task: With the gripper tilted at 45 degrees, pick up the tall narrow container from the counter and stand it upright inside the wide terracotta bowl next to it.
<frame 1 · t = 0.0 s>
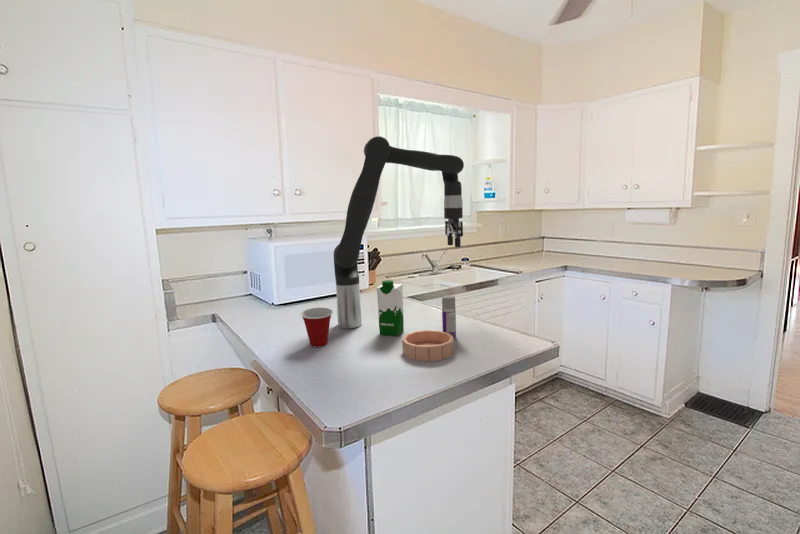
hand: (453, 246, 167), 29 cm above the worktop, tool pointing down, fingers open, 8 cm apart
container: (449, 338, 142), on the worktop
milk carton: (392, 333, 151), on the worktop
plastic cup: (319, 345, 141), on the worktop
bowl: (428, 351, 130), on the worktop
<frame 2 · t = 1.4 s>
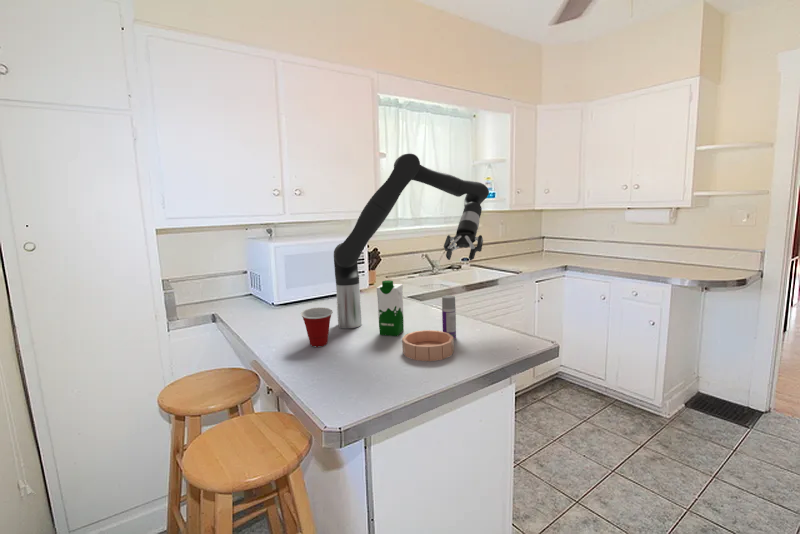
hand: (459, 258, 148), 27 cm above the worktop, tool tilted 45°, fingers open, 8 cm apart
nothing on the worktop moved.
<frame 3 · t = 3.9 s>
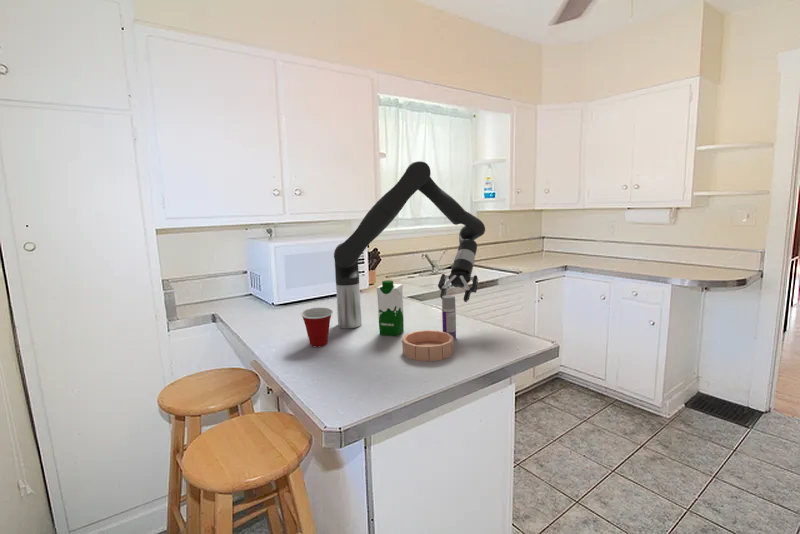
hand: (453, 300, 145), 13 cm above the worktop, tool tilted 45°, fingers open, 8 cm apart
nothing on the worktop moved.
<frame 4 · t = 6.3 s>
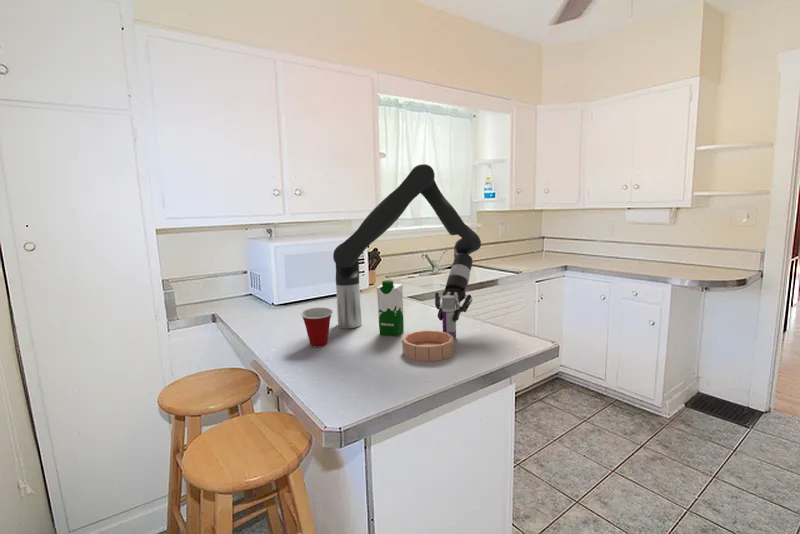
hand: (447, 319, 139), 7 cm above the worktop, tool tilted 45°, fingers closed on container, 4 cm apart
container: (449, 338, 142), on the worktop, touching gripper
everything else where it was.
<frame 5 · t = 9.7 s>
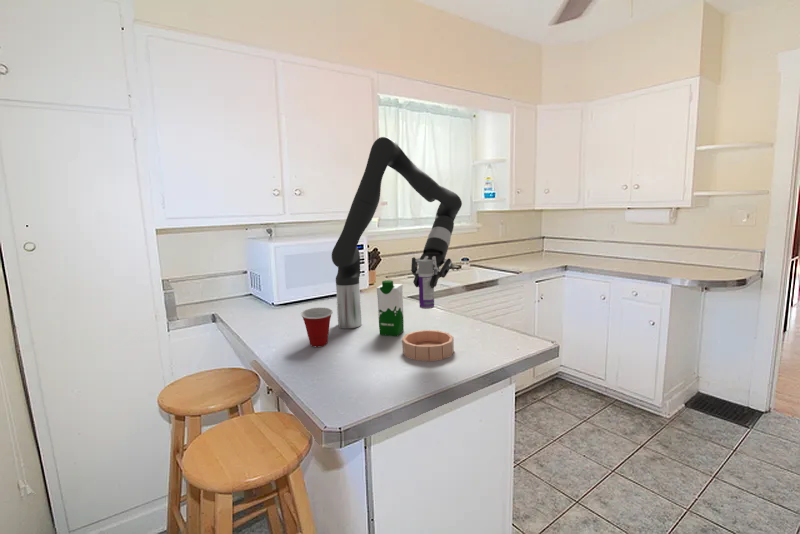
hand: (423, 286, 125), 22 cm above the worktop, tool tilted 45°, fingers closed on container, 4 cm apart
container: (426, 307, 128), point 15 cm above the worktop, touching gripper
everything else where it was.
when the fingers open (9 cm above the worktop, at t = 13.1 s): container drops 1 cm, resting on bowl.
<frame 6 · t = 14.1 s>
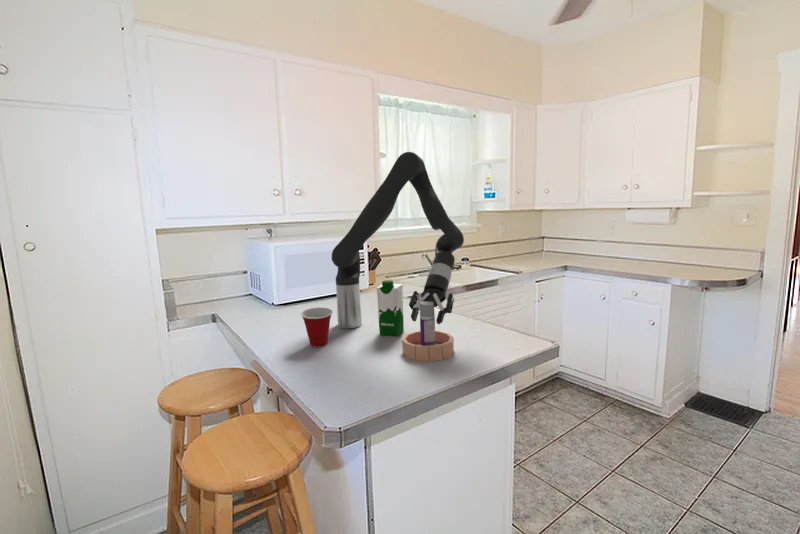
hand: (425, 321, 127), 10 cm above the worktop, tool tilted 45°, fingers open, 8 cm apart
container: (428, 348, 130), point 1 cm above the worktop, touching bowl
everything else where it was.
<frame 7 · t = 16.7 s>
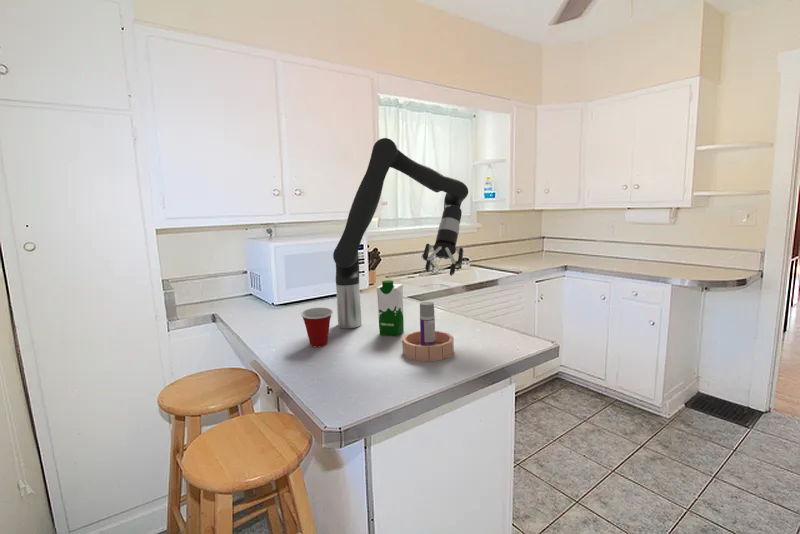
hand: (439, 273, 144), 22 cm above the worktop, tool tilted 30°, fingers open, 8 cm apart
nothing on the worktop moved.
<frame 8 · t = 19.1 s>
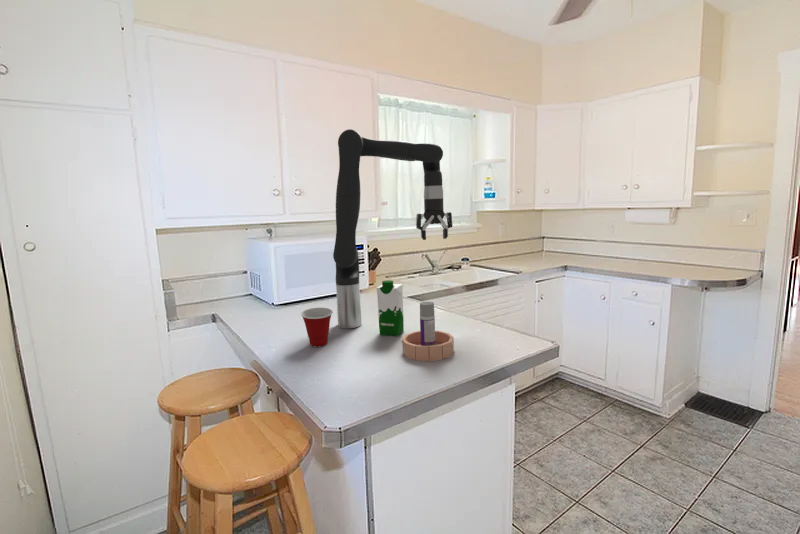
hand: (434, 239, 160), 33 cm above the worktop, tool pointing down, fingers open, 8 cm apart
nothing on the worktop moved.
at the end: container inside the target area on the bowl (0.2 cm from its centre), point 0.8 cm above the bowl's base; container tilted 0°; the gripper is holding nothing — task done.
